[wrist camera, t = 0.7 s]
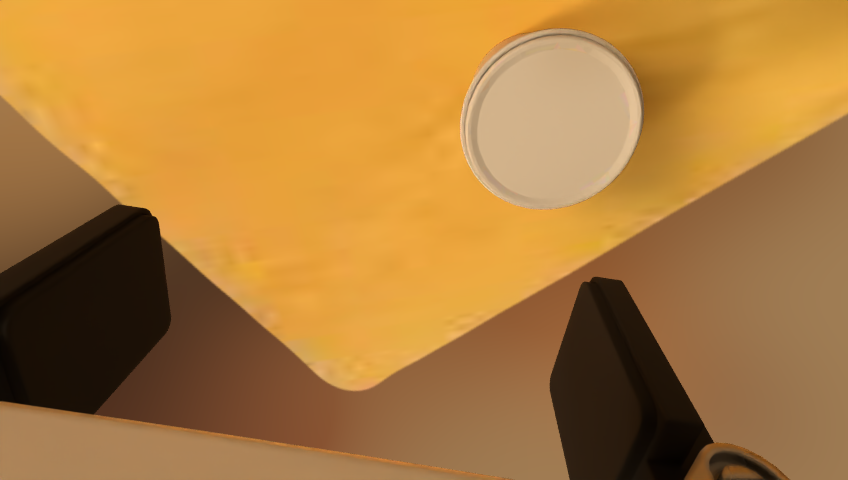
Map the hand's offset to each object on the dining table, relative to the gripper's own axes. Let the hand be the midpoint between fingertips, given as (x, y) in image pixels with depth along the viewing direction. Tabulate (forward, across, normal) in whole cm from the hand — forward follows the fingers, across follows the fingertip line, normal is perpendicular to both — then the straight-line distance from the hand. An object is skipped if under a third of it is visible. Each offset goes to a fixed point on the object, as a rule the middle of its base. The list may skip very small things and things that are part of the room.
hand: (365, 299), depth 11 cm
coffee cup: (+28, -7, -1) cm, 29 cm away
